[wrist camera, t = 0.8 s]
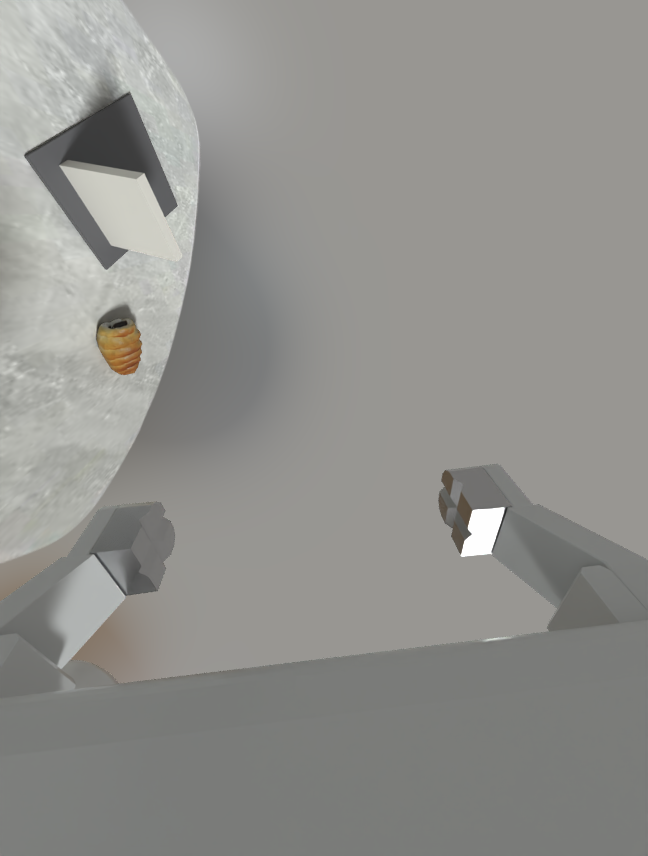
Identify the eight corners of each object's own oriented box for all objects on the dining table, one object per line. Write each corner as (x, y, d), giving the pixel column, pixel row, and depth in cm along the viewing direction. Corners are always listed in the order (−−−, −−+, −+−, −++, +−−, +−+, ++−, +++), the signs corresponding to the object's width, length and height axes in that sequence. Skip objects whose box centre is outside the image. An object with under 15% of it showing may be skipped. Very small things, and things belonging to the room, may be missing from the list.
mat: (104, 269, 49) (107, 269, 49) (24, 156, 37) (26, 156, 37) (175, 205, 56) (177, 205, 56) (128, 93, 44) (130, 94, 44)
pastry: (138, 364, 60) (154, 370, 59) (105, 379, 55) (122, 386, 54) (125, 313, 55) (143, 319, 54) (87, 325, 50) (106, 331, 49)
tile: (111, 245, 48) (176, 261, 45) (58, 165, 39) (136, 179, 37) (118, 238, 49) (183, 254, 46) (69, 158, 40) (145, 171, 37)
